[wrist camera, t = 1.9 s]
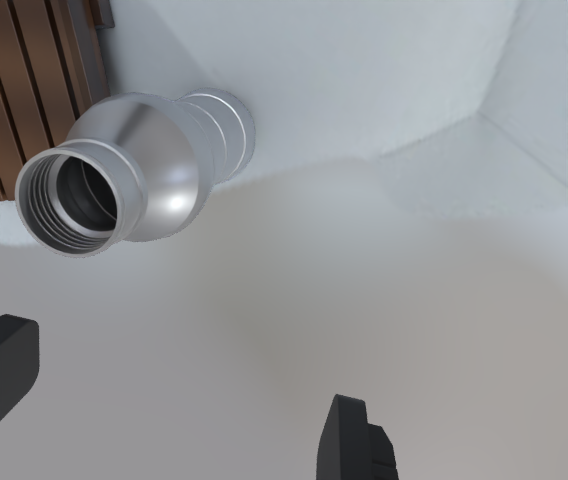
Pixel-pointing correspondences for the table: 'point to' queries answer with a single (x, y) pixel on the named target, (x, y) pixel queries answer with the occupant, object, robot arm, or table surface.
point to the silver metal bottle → (133, 170)
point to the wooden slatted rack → (46, 76)
